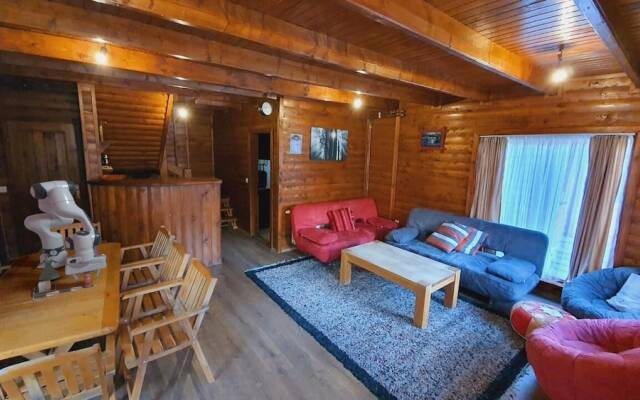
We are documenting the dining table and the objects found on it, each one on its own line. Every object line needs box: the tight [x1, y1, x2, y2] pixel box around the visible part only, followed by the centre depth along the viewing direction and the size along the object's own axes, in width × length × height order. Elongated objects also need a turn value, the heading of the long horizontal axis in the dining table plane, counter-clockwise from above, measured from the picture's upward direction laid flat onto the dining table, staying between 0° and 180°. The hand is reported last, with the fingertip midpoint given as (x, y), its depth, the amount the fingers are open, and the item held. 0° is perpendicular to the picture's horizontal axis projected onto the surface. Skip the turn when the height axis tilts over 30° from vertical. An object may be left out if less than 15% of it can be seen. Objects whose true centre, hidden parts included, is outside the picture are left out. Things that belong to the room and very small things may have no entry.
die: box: [37, 280, 52, 293], centre depth 175 cm, size 5×5×5 cm
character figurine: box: [29, 255, 63, 282], centre depth 184 cm, size 16×8×18 cm, turn 123°
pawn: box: [83, 272, 93, 289], centre depth 181 cm, size 4×4×9 cm
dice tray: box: [32, 282, 57, 297], centre depth 175 cm, size 10×10×2 cm
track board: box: [32, 283, 94, 301], centre depth 175 cm, size 5×28×1 cm, turn 131°
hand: (87, 277), depth 181 cm, fingers open, 8 cm apart
